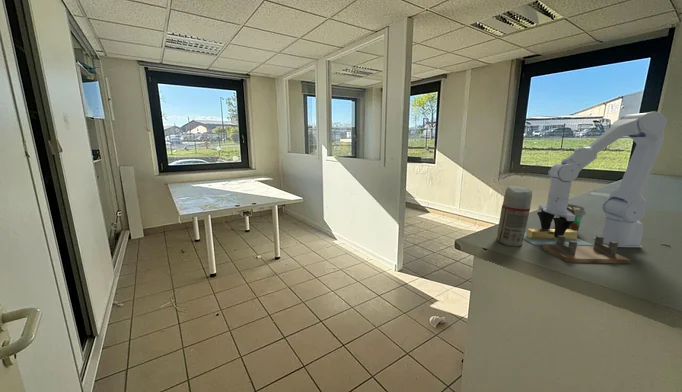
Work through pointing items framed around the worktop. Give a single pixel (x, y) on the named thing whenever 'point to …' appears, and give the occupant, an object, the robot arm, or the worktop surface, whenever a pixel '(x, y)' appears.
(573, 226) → the food container
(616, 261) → the hook stand
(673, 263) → the worktop surface
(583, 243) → the rubber mat
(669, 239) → the worktop surface
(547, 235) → the brass rail
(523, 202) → the spray can
